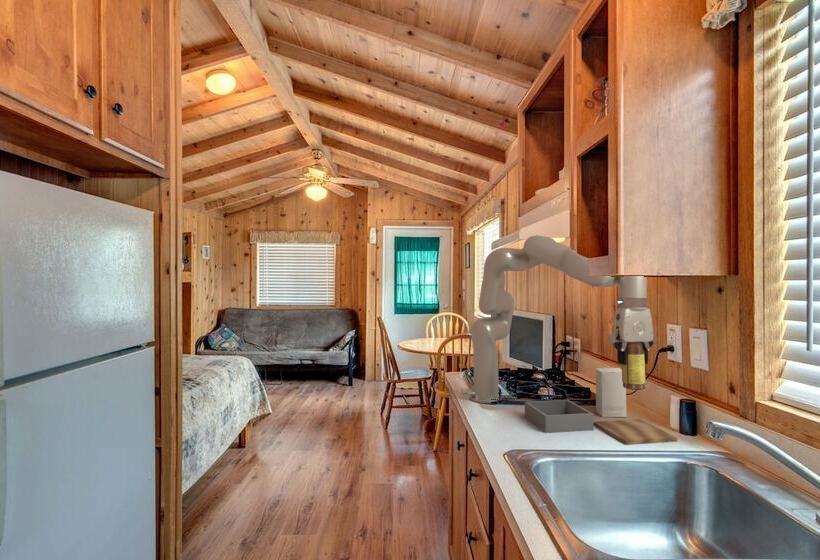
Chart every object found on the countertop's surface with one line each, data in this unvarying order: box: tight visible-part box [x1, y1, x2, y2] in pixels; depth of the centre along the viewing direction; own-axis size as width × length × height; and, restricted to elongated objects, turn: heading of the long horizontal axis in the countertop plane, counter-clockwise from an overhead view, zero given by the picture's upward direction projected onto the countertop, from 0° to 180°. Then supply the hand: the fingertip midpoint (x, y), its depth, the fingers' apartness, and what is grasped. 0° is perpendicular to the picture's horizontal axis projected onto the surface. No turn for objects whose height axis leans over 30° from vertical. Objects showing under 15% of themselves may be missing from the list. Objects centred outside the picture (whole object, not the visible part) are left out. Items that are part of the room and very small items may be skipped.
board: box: [594, 418, 678, 446], centre depth 128 cm, size 16×16×1 cm
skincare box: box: [595, 367, 628, 418], centre depth 146 cm, size 8×7×16 cm
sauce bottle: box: [620, 342, 646, 391], centre depth 128 cm, size 7×6×20 cm
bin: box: [524, 399, 595, 434], centre depth 137 cm, size 16×16×5 cm
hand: (632, 362), depth 128 cm, fingers closed on sauce bottle, 6 cm apart
